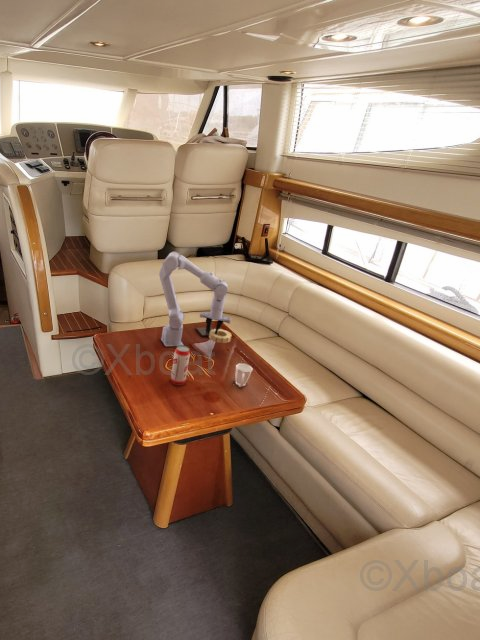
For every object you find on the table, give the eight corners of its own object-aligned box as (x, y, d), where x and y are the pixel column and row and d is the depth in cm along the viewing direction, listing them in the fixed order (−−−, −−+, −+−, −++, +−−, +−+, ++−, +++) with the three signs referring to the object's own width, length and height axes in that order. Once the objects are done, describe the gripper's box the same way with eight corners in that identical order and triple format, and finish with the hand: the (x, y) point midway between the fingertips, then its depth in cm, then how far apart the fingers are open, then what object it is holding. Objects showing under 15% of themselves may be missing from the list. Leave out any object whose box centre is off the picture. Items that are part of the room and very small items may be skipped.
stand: (202, 337, 201) (204, 327, 198) (195, 329, 209) (197, 320, 206) (218, 336, 204) (219, 326, 201) (211, 329, 211) (212, 319, 208)
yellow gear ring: (214, 343, 180) (215, 338, 179) (205, 333, 189) (206, 329, 187) (234, 342, 183) (235, 337, 181) (224, 332, 191) (225, 328, 190)
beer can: (185, 379, 164) (190, 345, 156) (185, 387, 158) (190, 353, 150) (170, 377, 164) (175, 343, 156) (170, 385, 159) (174, 351, 151)
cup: (248, 381, 167) (253, 365, 163) (248, 393, 158) (252, 376, 154) (232, 377, 168) (236, 361, 164) (231, 389, 159) (235, 373, 155)
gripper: (234, 307, 181) (228, 333, 187) (203, 301, 184) (199, 327, 191) (231, 312, 175) (226, 339, 181) (200, 306, 178) (196, 332, 185)
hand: (212, 333), depth 186 cm, fingers closed on yellow gear ring, 3 cm apart
